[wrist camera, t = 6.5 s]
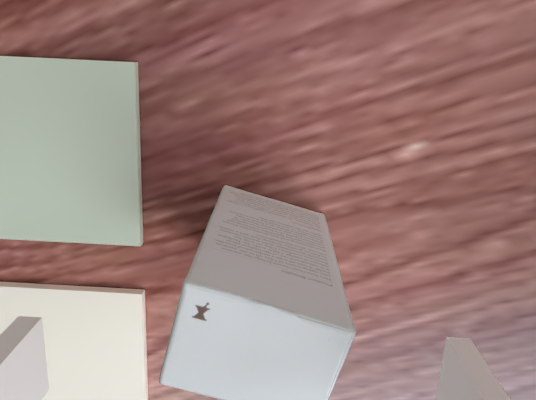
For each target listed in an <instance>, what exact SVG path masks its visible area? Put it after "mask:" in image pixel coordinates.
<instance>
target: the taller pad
mask: <svg viewBox="0 0 536 400" xmlns="http://www.w3.org/2000/svg"><path fill="white" fill-rule="evenodd" d="M18 316H26V317H42V323H43V332H44V342H45V352H46V362H47V372H48V382H49V390H48V391H47V393H46V394H45V396H44V397H43V399H42V400H148V378H147V345H146V312H145V290H144V289H126V288H108V287H90V286H72V285H53V284H35V283H17V282H0V335H1V334H2V333H3V332H4V331H5V330H6V328H7V327H8V326H9V325H10V324H11V323H12V322H13V321H14V320H15V319H16V318H17V317H18Z"/></svg>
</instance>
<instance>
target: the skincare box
mask: <svg viewBox="0 0 536 400" xmlns="http://www.w3.org/2000/svg"><path fill="white" fill-rule="evenodd" d="M355 335H356V329H355V326H354V322H353V319H352V315H351V312H350V308H349V305H348V301H347V297H346V294H345V290H344V287H343V283H342V279H341V275H340V271H339V267H338V264H337V260H336V256H335V252H334V248H333V244H332V241H331V237H330V233H329V229H328V225H327V222H326V218H325V216H324V214H322V213H318V212H315V211H311V210H308V209H305V208H302V207H298V206H295V205H292V204H288V203H285V202H281V201H278V200H275V199H271V198H268V197H264V196H261V195H258V194H254V193H251V192H247V191H244V190H241V189H237V188H234V187H231V186H228V185H224V186H223V188H222V190H221V193H220V195H219V198H218V200H217V203H216V205H215V208H214V210H213V212H212V215H211V217H210V220H209V222H208V225H207V227H206V230H205V232H204V235H203V237H202V240H201V242H200V245H199V247H198V250H197V252H196V255H195V257H194V260H193V263H192V265H191V268H190V270H189V272H188V274H187V276H186V279H185V281H184V282H183V286H182V290H181V294H180V298H179V302H178V306H177V310H176V314H175V318H174V322H173V326H172V330H171V334H170V338H169V342H168V346H167V350H166V353H165V357H164V361H163V365H162V369H161V373H160V378H159V382H160V383H161V384H162V385H166V386H170V387H174V388H178V389H182V390H186V391H190V392H194V393H197V394H201V395H205V396H209V397H213V398H217V399H221V400H328V398H329V396H330V394H331V391H332V389H333V387H334V384H335V382H336V379H337V377H338V375H339V373H340V370H341V368H342V366H343V363H344V361H345V359H346V356H347V354H348V352H349V349H350V347H351V344H352V342H353V340H354V337H355Z"/></svg>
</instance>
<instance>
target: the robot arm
mask: <svg viewBox="0 0 536 400" xmlns="http://www.w3.org/2000/svg"><path fill="white" fill-rule="evenodd" d="M48 390H49V382H48V372H47V362H46V352H45V342H44V332H43V323H42V317H26V316H18V317H17V318H16V319H15V320H14V321H13V322H12V323H11V324H10V325H9V326H8V327H7V328H6V330H5V331H4V332H3V333H2V334H1V335H0V400H42V399H43V397H44V396H45V394H46V393H47V391H48ZM435 400H511V399H510V397H509V396H508V394H507V393H506V391H505V390H504V388H503V387H502V385H501V384H500V382H499V381H498V379H497V378H496V376H495V375H494V373H493V372H492V370H491V369H490V368H489V366H488V365H487V363H486V362H485V360H484V359H483V357H482V356H481V354H480V353H479V351H478V350H477V348H476V347H475V345H474V344H473V342H472V341H471V339H470V338H457V337H446V341H445V347H444V353H443V358H442V364H441V370H440V376H439V382H438V387H437V393H436V399H435Z"/></svg>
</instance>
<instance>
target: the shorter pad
mask: <svg viewBox="0 0 536 400" xmlns="http://www.w3.org/2000/svg"><path fill="white" fill-rule="evenodd" d="M0 239H13V240H32V241H50V242H69V243H88V244H106V245H125V246H141V245H142V244H143V212H142V178H141V145H140V112H139V78H138V62H125V61H104V60H83V59H62V58H41V57H20V56H0Z"/></svg>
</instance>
